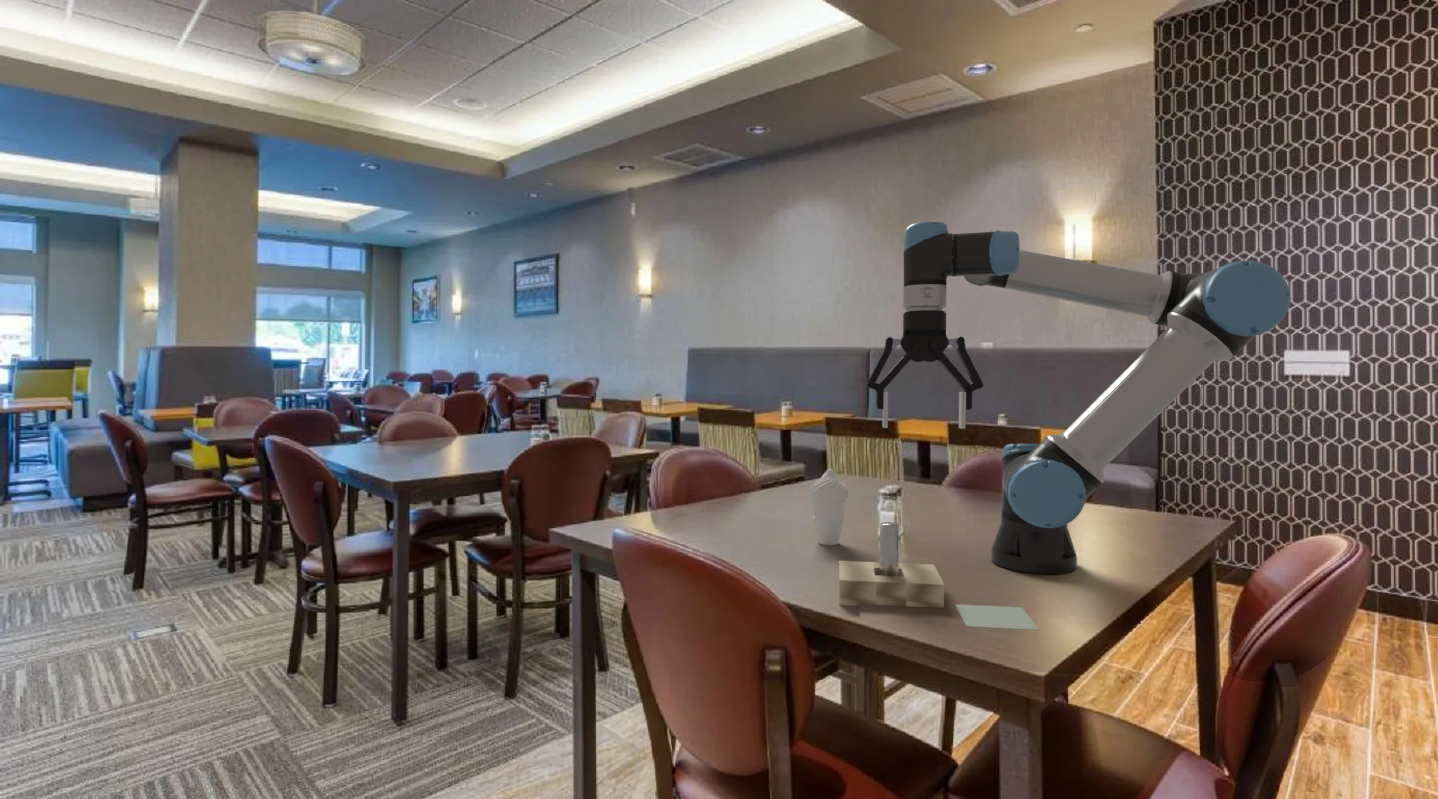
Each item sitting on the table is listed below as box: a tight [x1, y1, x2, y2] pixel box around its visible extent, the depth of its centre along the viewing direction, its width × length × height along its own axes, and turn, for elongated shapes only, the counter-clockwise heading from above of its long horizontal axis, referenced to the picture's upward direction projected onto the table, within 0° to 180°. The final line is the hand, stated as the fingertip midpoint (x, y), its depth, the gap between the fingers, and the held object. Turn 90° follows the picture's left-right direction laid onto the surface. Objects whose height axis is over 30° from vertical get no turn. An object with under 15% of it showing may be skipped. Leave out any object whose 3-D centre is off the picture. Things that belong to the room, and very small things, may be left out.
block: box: [838, 560, 945, 609], centre depth 122 cm, size 16×12×4 cm
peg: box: [879, 521, 900, 576], centre depth 122 cm, size 3×3×12 cm
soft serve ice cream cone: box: [808, 468, 849, 546], centre depth 159 cm, size 8×8×16 cm
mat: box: [954, 603, 1040, 631], centre depth 111 cm, size 10×10×1 cm
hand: (923, 427), depth 135 cm, fingers open, 13 cm apart
